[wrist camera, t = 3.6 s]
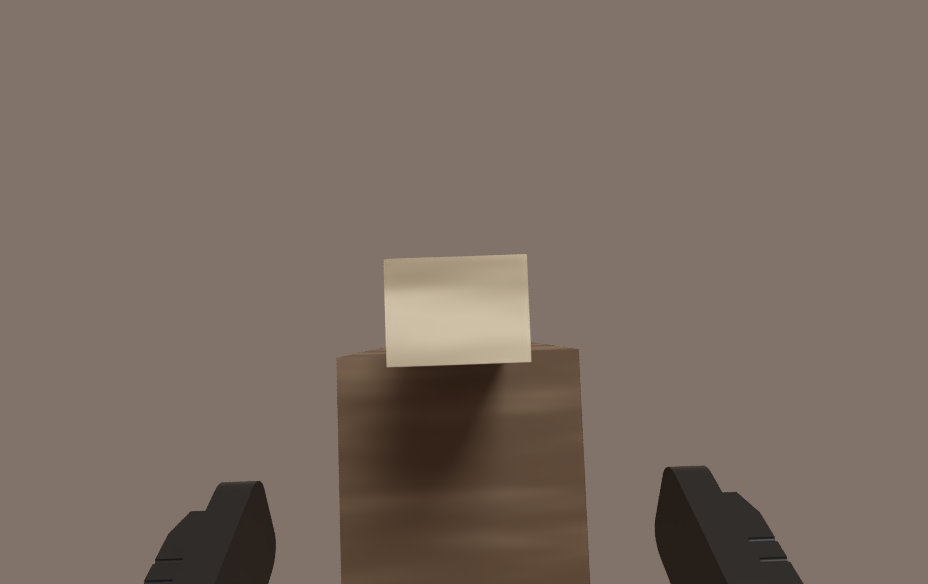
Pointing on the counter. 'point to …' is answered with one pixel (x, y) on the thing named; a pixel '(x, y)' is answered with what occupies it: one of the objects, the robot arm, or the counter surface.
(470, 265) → the slat
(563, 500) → the wooden block stacks
